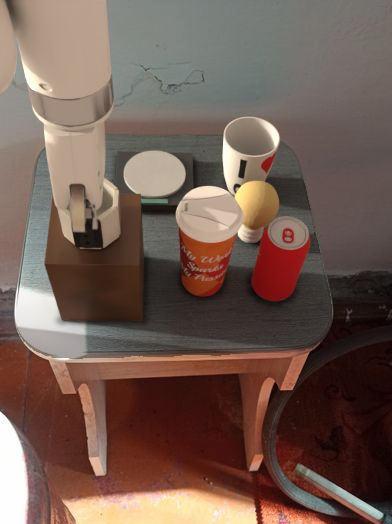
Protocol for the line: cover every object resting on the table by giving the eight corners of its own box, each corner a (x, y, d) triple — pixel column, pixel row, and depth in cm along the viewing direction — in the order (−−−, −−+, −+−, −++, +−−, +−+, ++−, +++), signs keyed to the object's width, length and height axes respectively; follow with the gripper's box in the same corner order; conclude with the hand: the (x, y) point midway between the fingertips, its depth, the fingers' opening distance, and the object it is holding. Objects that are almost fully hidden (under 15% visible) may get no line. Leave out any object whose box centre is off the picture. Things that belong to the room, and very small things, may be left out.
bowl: (61, 248, 66) (54, 220, 61) (66, 204, 69) (59, 174, 65) (119, 249, 66) (117, 221, 62) (121, 205, 70) (119, 175, 65)
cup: (225, 209, 87) (233, 160, 78) (211, 171, 91) (216, 120, 82) (275, 200, 89) (287, 151, 80) (258, 163, 92) (269, 113, 83)
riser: (61, 320, 77) (44, 264, 65) (68, 255, 82) (52, 191, 70) (142, 321, 77) (139, 264, 66) (144, 256, 82) (141, 193, 71)
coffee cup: (172, 301, 79) (174, 232, 66) (175, 254, 83) (177, 180, 69) (231, 305, 79) (245, 237, 66) (231, 258, 83) (245, 184, 70)
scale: (115, 210, 86) (114, 201, 84) (118, 158, 91) (117, 148, 89) (193, 212, 87) (194, 203, 85) (192, 159, 92) (192, 150, 90)
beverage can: (293, 270, 83) (313, 215, 72) (293, 306, 80) (313, 254, 69) (251, 265, 83) (265, 210, 72) (249, 301, 80) (262, 248, 69)
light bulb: (269, 220, 87) (281, 172, 78) (271, 253, 84) (284, 207, 75) (228, 218, 86) (235, 170, 78) (228, 251, 84) (236, 205, 75)
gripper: (39, 28, 55) (65, 165, 70) (17, 158, 47) (52, 280, 62) (116, 31, 55) (125, 167, 71) (108, 160, 47) (120, 281, 63)
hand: (91, 219), depth 67 cm, fingers closed on bowl, 6 cm apart
